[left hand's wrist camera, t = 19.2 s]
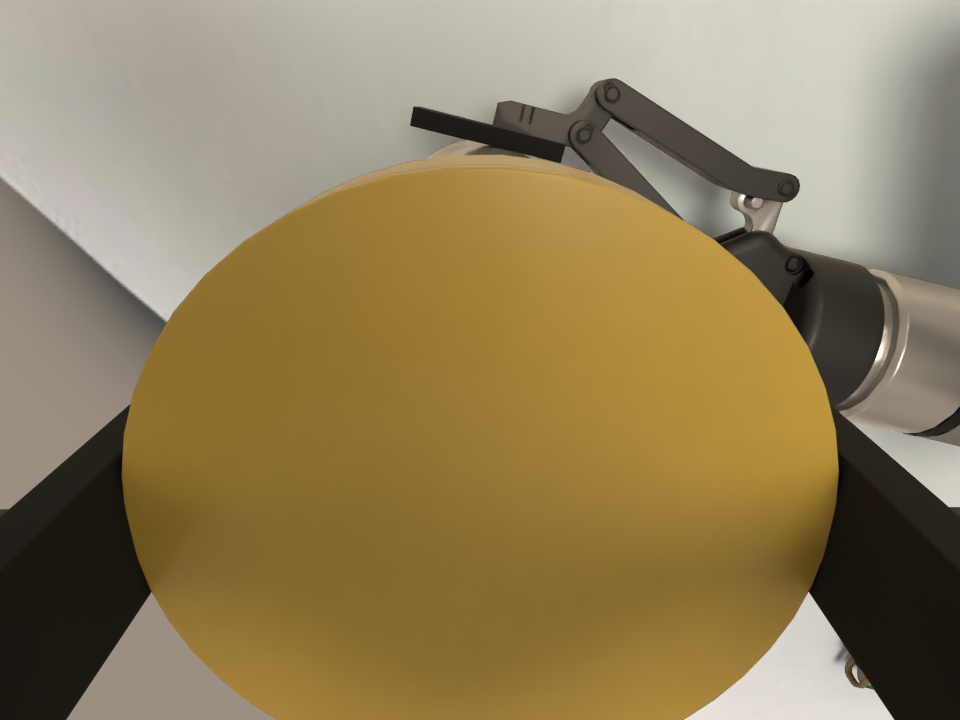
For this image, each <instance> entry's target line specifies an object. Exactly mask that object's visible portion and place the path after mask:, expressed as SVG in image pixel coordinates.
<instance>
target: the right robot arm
mask: <svg viewBox="0 0 960 720" xmlns="http://www.w3.org/2000/svg"><path fill="white" fill-rule="evenodd" d="M610 118H611V119H613V120H614V121H616V122H618V123H619V124H621V125H622V126H624V127H625V128H627V129H629V130H630V131H632V132H633V133H635V134H636V135H638V136H640V137H641V138H643V139H644V140H646V141H647V142H649V143H651V144H652V145H654V146H655V147H657V148H658V149H660V150H661V151H663V152H665V153H666V154H668V155H669V156H671V157H672V158H674V159H676V160H677V161H679V162H680V163H682V164H683V165H685V166H687V167H688V168H690V169H691V170H693V171H694V172H696V173H697V174H699V175H701V176H702V177H704V178H705V179H707V180H708V181H710V182H712V183H714V184H716V185H718V186H720V187H723V188H726V189H729V190H732V193H731V197H730V203H731V205H732V207H733V208H734V209H735V210H737V211H739V212H741V213H742V214H743V215H744V217H745V227H742V228H739V229H737V230H734V231H732V232H729V233H727V234H724V235H721V236H719V237H716V238H714V240H715V241H716V242H717V243H718V244H720V245H721V246H722V247H723V248H724V249H726V250H727V251H728V252H729V253H730V254H732V255H733V256H734V257H735V258H736V259H738V260H739V261H740V262H741V263H742V264H743V265H745V266H746V267H747V268H748V269H749V270H751V271H752V272H753V273H754V275H755V276H756V277H757V278H758V279H759V280H760V281H761V283H762V284H763V285H764V286H765V287H766V288H767V289H768V291H769V292H770V293H771V294H772V295H773V296H774V297H775V299H776V300H777V301H778V302H779V303H780V304H781V305H782V307H783V308H784V309H785V311H786V312H787V314H788V316H789V317H790V319H791V320H792V322H793V324H794V325H795V327H796V328H797V330H798V332H799V333H800V335H801V336H802V338H803V340H804V341H805V343H806V344H807V346H808V348H809V350H810V352H811V355H812V357H813V359H814V362H815V364H816V367H817V369H818V371H819V374H820V376H821V378H822V381H823V383H824V385H825V388H826V392H827V396H828V400H829V404H831V405H832V406H833V407H834V408H835V409H836V410H837V411H839V412H840V413H841V414H842V415H843V416H844V417H845V418H847V419H848V420H849V421H850V422H854V423H858V424H863V425H868V426H873V427H878V428H883V429H888V430H892V431H897V432H902V433H904V434H908V435H913V436H919V437H923V438H928V439H932V440H936V441H940V442H944V443H948V444H952V445H957V446H960V290H958V289H954V288H950V287H946V286H942V285H938V284H934V283H930V282H926V281H922V280H918V279H914V278H910V277H906V276H903V275H899V274H895V273H891V272H887V271H882V270H878V269H866V268H865V267H863V266H861V265H858V264H855V263H851V262H847V261H843V260H839V259H835V258H831V257H827V256H823V255H818V254H814V253H810V252H806V251H802V250H798V249H794V248H790V247H786V246H784V245H783V244H781V243H780V242H779V241H778V240H777V238H776V237H775V236H774V235H772V234H773V231H774V228H775V225H776V222H777V219H778V216H779V213H780V210H781V207H782V204H783V202H788V201H790V200H792V199H793V198H794V197H796V195H797V194H798V192H799V188H800V184H799V180H798V179H797V178H796V176H794V175H791V174H787V173H783V172H778V171H774V170H769V169H764V168H759V167H754V166H750V165H749V164H747V163H746V162H744V161H743V160H741V159H740V158H738V157H737V156H735V155H734V154H732V153H731V152H729V151H728V150H726V149H724V148H723V147H721V146H720V145H718V144H717V143H715V142H714V141H712V140H711V139H709V138H708V137H706V136H705V135H703V134H702V133H700V132H698V131H697V130H695V129H694V128H692V127H691V126H689V125H688V124H686V123H685V122H683V121H682V120H680V119H679V118H677V117H676V116H674V115H672V114H671V113H669V112H668V111H666V110H665V109H663V108H662V107H660V106H659V105H657V104H656V103H654V102H653V101H651V100H649V99H648V98H646V97H645V96H643V95H642V94H640V93H639V92H637V91H636V90H634V89H633V88H631V87H630V86H628V85H627V84H625V83H623V82H622V81H620V80H618V79H615V78H614V79H606V80H601V81H598V82H596V83H594V84H593V86H592V87H591V88H590V91H589V93H588V95H587V96H586V98H585V99H584V101H583V102H582V104H581V105H580V107H579V108H578V109H577V110H576V111H574V112H573V113H570V114H561V113H557V112H553V111H549V110H545V109H541V108H537V107H533V106H529V105H525V104H522V103H518V102H514V101H507V102H501V103H498V104H497V108H496V112H495V117H494V121H493V125H490V124H486V123H482V122H478V121H474V120H470V119H466V118H462V117H458V116H454V115H450V114H446V113H442V112H439V111H435V110H431V109H427V108H423V107H414V108H413V113H412V119H411V124H410V126H414V127H418V128H422V129H426V130H430V131H434V132H438V133H442V134H446V135H450V136H454V137H458V138H462V139H466V140H470V141H474V142H478V143H482V144H486V145H490V146H494V147H498V148H502V149H506V150H510V151H514V152H518V153H522V154H526V155H530V156H534V157H538V158H542V159H546V160H550V161H554V162H558V163H561V160H562V156H563V152H564V149H565V146H568V147H571V148H572V149H573V150H574V151H575V152H576V153H577V154H578V155H579V157H580V158H581V159H582V160H583V161H584V162H585V163H586V164H587V165H588V166H589V167H590V168H591V169H592V170H593V171H594V172H595V173H596V174H597V175H598V176H600V177H603V178H605V179H607V180H610V181H612V182H614V183H617V184H619V185H621V186H623V187H626V188H628V189H630V190H633V191H635V192H637V193H638V194H640V195H642V196H643V197H645V198H647V199H648V200H650V201H652V202H653V203H655V204H657V205H658V206H660V207H662V208H663V209H665V210H667V211H668V212H670V213H672V214H673V215H675V216H677V217H678V218H680V219H681V220H683V219H682V218H681V217H680V216H679V215H678V214H677V213H676V211H675V210H674V209H673V208H672V207H671V206H670V205H669V204H668V203H667V202H666V201H665V200H664V198H663V197H662V196H661V195H660V194H659V193H658V192H657V191H656V190H655V189H654V188H653V187H652V186H651V184H650V183H649V182H648V181H647V180H646V179H645V178H644V177H643V176H642V175H641V174H640V173H639V172H638V170H637V169H636V168H635V167H634V166H633V165H632V164H631V163H630V162H629V161H628V160H627V159H626V158H625V156H624V155H623V154H622V153H621V152H620V151H619V150H618V149H617V148H616V147H615V146H614V145H613V144H612V142H611V141H610V140H609V139H608V138H607V137H606V136H605V135H604V134H603V133H602V130H603V129H604V127H605V126H606V124H607V123H608V121H609V120H610ZM683 221H684V220H683Z"/></svg>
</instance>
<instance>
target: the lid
mask: <svg viewBox="0 0 960 720" xmlns="http://www.w3.org/2000/svg"><path fill="white" fill-rule="evenodd" d="M121 476H122V486H123V496H124V504H125V509H126V514H127V518H128V522H129V526H130V530H131V534H132V538H133V542H134V546H135V550H136V554H137V558H138V561H139V564H140V566H141V569H142V571H143V573H144V576H145V578H146V581H147V583H148V585H149V588H150V590H151V591H152V593H153V595H154V597H155V598H156V600H157V602H158V603H159V605H160V607H161V608H162V610H163V612H164V613H165V615H166V617H167V619H168V620H169V622H170V623H171V624H172V626H173V627H174V628H175V630H176V631H177V632H178V633H179V635H180V636H181V637H182V639H183V640H184V641H185V642H186V644H187V645H188V646H189V647H190V649H191V650H192V651H193V652H194V653H195V654H196V655H197V656H198V657H199V658H200V659H201V660H202V661H203V662H204V663H205V664H206V665H207V666H208V667H209V668H210V669H211V671H213V672H214V674H215V675H216V676H218V677H219V679H221V680H222V681H223V682H225V683H226V684H227V685H228V686H230V687H231V688H232V689H233V690H235V691H236V692H237V693H238V694H240V695H241V696H242V697H243V698H245V699H246V700H247V701H248V702H250V703H251V704H253V705H254V706H256V707H258V708H259V709H261V710H262V711H264V712H265V713H267V714H269V715H270V716H272V717H273V718H275V719H277V720H684V719H686V718H687V717H689V716H690V715H692V714H693V713H695V712H696V711H698V710H700V709H701V708H703V707H704V706H706V705H707V704H709V703H710V702H712V701H713V700H715V699H716V698H717V697H719V696H720V695H721V694H722V693H723V692H725V691H726V690H727V689H728V688H730V687H731V686H732V685H733V684H734V683H736V682H737V681H738V680H739V679H741V678H742V677H743V676H744V675H745V674H746V673H747V672H748V671H749V670H750V669H751V668H752V667H753V666H754V665H755V664H756V663H757V662H758V661H759V660H760V659H761V658H762V657H763V656H764V655H765V654H766V653H767V651H768V650H769V649H770V648H771V647H772V646H773V644H774V643H775V642H776V640H777V639H778V638H779V636H780V635H781V634H782V633H783V631H784V630H785V629H786V627H787V626H788V625H789V623H790V622H791V621H792V619H793V618H794V616H795V614H796V613H797V611H798V609H799V607H800V606H801V604H802V602H803V600H804V599H805V597H806V595H807V593H808V592H809V590H810V588H811V586H812V584H813V582H814V579H815V577H816V574H817V572H818V569H819V567H820V564H821V562H822V559H823V556H824V552H825V549H826V544H827V540H828V536H829V532H830V528H831V524H832V520H833V516H834V512H835V507H836V501H837V489H838V476H839V466H838V453H837V440H836V429H835V425H834V421H833V417H832V412H831V408H830V404H829V400H828V396H827V392H826V388H825V385H824V383H823V381H822V378H821V376H820V374H819V371H818V369H817V367H816V364H815V362H814V359H813V357H812V355H811V352H810V350H809V348H808V346H807V344H806V343H805V341H804V340H803V338H802V336H801V335H800V333H799V332H798V330H797V328H796V327H795V325H794V324H793V322H792V320H791V319H790V317H789V316H788V314H787V312H786V311H785V309H784V308H783V307H782V305H781V304H780V303H779V302H778V301H777V300H776V299H775V297H774V296H773V295H772V294H771V293H770V292H769V291H768V289H767V288H766V287H765V286H764V285H763V284H762V283H761V281H760V280H759V279H758V278H757V277H756V276H755V275H754V273H753V272H752V271H751V270H749V269H748V268H747V267H746V266H745V265H743V264H742V263H741V262H740V261H739V260H738V259H736V258H735V257H734V256H733V255H732V254H730V253H729V252H728V251H727V250H726V249H724V248H723V247H722V246H721V245H720V244H718V243H717V242H716V241H715V240H714V239H712V238H711V237H709V236H708V235H706V234H704V233H703V232H701V231H699V230H698V229H696V228H695V227H693V226H691V225H690V224H688V223H686V222H685V221H683V220H681V219H680V218H678V217H677V216H675V215H673V214H672V213H670V212H668V211H667V210H665V209H663V208H662V207H660V206H658V205H657V204H655V203H653V202H652V201H650V200H648V199H647V198H645V197H643V196H642V195H640V194H638V193H637V192H635V191H633V190H630V189H628V188H626V187H623V186H621V185H619V184H617V183H614V182H612V181H610V180H607V179H605V178H603V177H600V176H598V175H596V174H593V173H590V172H586V171H583V170H579V169H576V168H572V167H568V166H565V165H561V164H557V163H554V162H550V161H545V160H537V159H529V158H522V157H514V156H506V155H452V156H445V157H438V158H431V159H424V160H417V161H411V162H406V163H402V164H399V165H395V166H392V167H388V168H385V169H381V170H378V171H375V172H371V173H368V174H364V175H362V176H359V177H357V178H355V179H353V180H350V181H348V182H346V183H344V184H342V185H339V186H337V187H335V188H333V189H330V190H328V191H326V192H324V193H322V194H320V195H318V196H316V197H315V198H313V199H311V200H310V201H308V202H306V203H305V204H303V205H301V206H300V207H298V208H296V209H295V210H293V211H291V212H290V213H288V214H286V215H285V216H283V217H282V218H280V219H278V220H277V221H275V222H274V223H272V224H271V225H269V226H267V227H266V228H264V229H263V230H261V231H260V232H258V233H256V234H255V235H253V236H252V237H250V238H248V239H247V240H245V241H244V242H242V243H241V244H240V245H239V246H238V247H237V248H235V249H234V250H233V251H232V252H231V253H230V254H229V255H227V256H226V257H225V258H224V259H223V260H222V261H221V262H219V263H218V264H217V265H216V266H215V267H214V268H212V269H211V270H210V271H209V272H208V273H207V274H206V275H205V276H204V277H203V278H202V279H201V280H200V281H199V283H198V284H197V285H196V286H195V287H194V289H193V290H192V291H191V292H190V293H189V294H188V296H187V297H186V298H185V299H184V300H183V302H182V303H181V304H180V305H179V306H178V307H177V309H176V310H175V311H174V312H173V314H172V316H171V317H170V319H169V320H168V322H167V324H166V326H165V327H164V329H163V331H162V332H161V334H160V335H159V337H158V339H157V340H156V342H155V344H154V345H153V347H152V349H151V350H150V352H149V355H148V357H147V360H146V362H145V365H144V367H143V370H142V372H141V375H140V377H139V380H138V382H137V384H136V387H135V389H134V392H133V396H132V400H131V405H130V409H129V414H128V418H127V423H126V427H125V432H124V441H123V458H122V475H121Z"/></svg>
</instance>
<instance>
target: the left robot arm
mask: <svg viewBox="0 0 960 720" xmlns="http://www.w3.org/2000/svg"><path fill="white" fill-rule="evenodd" d="M130 405H131V404H130ZM130 405H129V406H128V407H127V408H125V409H124V410H123V411H122V412H121V413H120V414H118V415H117V416H116V417H115V418H114V419H113V420H112V421H110V422H109V423H108V424H107V425H106V426H105V427H103V428H102V429H101V430H100V431H99V432H98V433H97V434H95V435H94V436H93V437H92V438H91V439H90V440H89V441H87V442H86V443H85V444H84V445H83V446H82V447H81V448H79V449H78V450H77V451H76V452H75V453H74V454H72V455H71V456H70V457H69V458H68V459H67V460H66V461H64V462H63V463H62V464H61V465H60V466H59V467H57V468H56V469H55V470H54V471H53V472H52V473H51V474H49V475H48V476H47V477H46V478H45V479H44V480H43V481H41V482H40V483H39V484H38V485H37V486H36V487H34V488H33V489H32V490H31V491H30V492H29V493H28V494H26V495H25V496H24V497H23V498H22V499H21V500H19V501H18V502H17V503H16V504H15V505H14V506H13V507H11V508H10V509H1V510H0V720H66V719H67V718H68V716H69V715H70V713H71V712H72V710H73V709H74V707H75V706H76V704H77V703H78V701H79V700H80V698H81V697H82V695H83V694H84V692H85V691H86V689H87V688H88V686H89V685H90V683H91V682H92V680H93V679H94V677H95V676H96V674H97V673H98V671H99V670H100V668H101V667H102V665H103V664H104V662H105V661H106V659H107V658H108V656H109V655H110V653H111V652H112V650H113V649H114V647H115V646H116V644H117V643H118V641H119V640H120V638H121V637H122V635H123V634H124V632H125V631H126V629H127V628H128V626H129V625H130V623H131V622H132V620H133V619H134V617H135V616H136V614H137V613H138V611H139V610H140V608H141V607H142V605H143V604H144V602H145V601H146V599H147V598H148V596H149V595H150V593H151V592H152V591H151V590H150V588H149V585H148V583H147V581H146V578H145V576H144V573H143V571H142V569H141V566H140V564H139V561H138V558H137V554H136V550H135V546H134V542H133V538H132V534H131V530H130V526H129V522H128V518H127V514H126V509H125V504H124V496H123V486H122V476H121V475H122V458H123V441H124V432H125V427H126V423H127V418H128V414H129V409H130ZM830 408H831V412H832V417H833V421H834V425H835V429H836V440H837V453H838V466H839V476H838V489H837V501H836V507H835V512H834V516H833V520H832V524H831V528H830V532H829V536H828V540H827V544H826V549H825V552H824V556H823V559H822V562H821V564H820V567H819V569H818V572H817V574H816V577H815V579H814V582H813V584H812V586H811V588H810V590H809V593H810V594H811V596H812V597H813V599H814V600H815V602H816V603H817V605H818V606H819V608H820V609H821V611H822V612H823V614H824V615H825V617H826V618H827V620H828V621H829V623H830V624H831V626H832V627H833V629H834V630H835V632H836V633H837V635H838V636H839V638H840V639H841V641H842V642H843V644H844V645H845V647H846V648H847V650H848V651H849V653H850V654H851V656H852V657H853V659H854V660H855V662H856V663H857V665H858V666H859V668H860V669H861V671H862V672H863V674H864V675H865V677H866V678H867V680H868V681H869V683H870V684H871V686H872V687H873V688H874V690H875V691H876V693H877V694H878V696H879V697H880V699H881V700H882V702H883V703H884V705H885V706H886V708H887V709H888V711H889V712H890V714H891V715H892V717H893V718H894V720H960V507H948V506H947V505H946V504H944V503H943V502H942V501H941V500H940V499H939V498H938V497H936V496H935V495H934V494H933V493H932V492H931V491H929V490H928V489H927V488H926V487H925V486H924V485H923V484H921V483H920V482H919V481H918V480H917V479H916V478H915V477H913V476H912V475H911V474H910V473H909V472H908V471H906V470H905V469H904V468H903V467H902V466H901V465H900V464H898V463H897V462H896V461H895V460H894V459H893V458H892V457H890V456H889V455H888V454H887V453H886V452H885V451H883V450H882V449H881V448H880V447H879V446H878V445H877V444H875V443H874V442H873V441H872V440H871V439H870V438H868V437H867V436H866V435H865V434H864V433H863V432H862V431H860V430H859V429H858V428H857V427H856V426H855V425H854V424H852V423H851V422H850V421H849V420H848V419H847V418H845V417H844V416H843V415H842V414H841V413H840V412H839V411H837V410H836V409H835V408H834V407H833V406H832V405H831V404H830Z"/></svg>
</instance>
